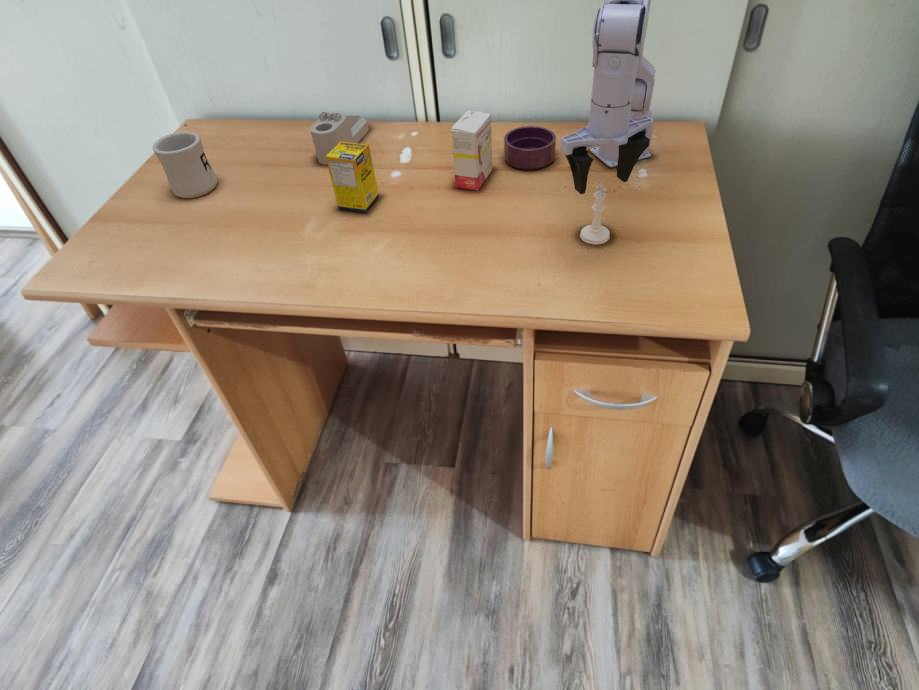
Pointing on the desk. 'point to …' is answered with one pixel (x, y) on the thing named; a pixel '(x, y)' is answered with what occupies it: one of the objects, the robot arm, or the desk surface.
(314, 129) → the angled bracket with hole
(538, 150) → the bowl
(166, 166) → the mug
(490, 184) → the desk surface
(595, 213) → the chess piece
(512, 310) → the desk surface
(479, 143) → the ink box
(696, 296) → the desk surface
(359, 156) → the supplement box
